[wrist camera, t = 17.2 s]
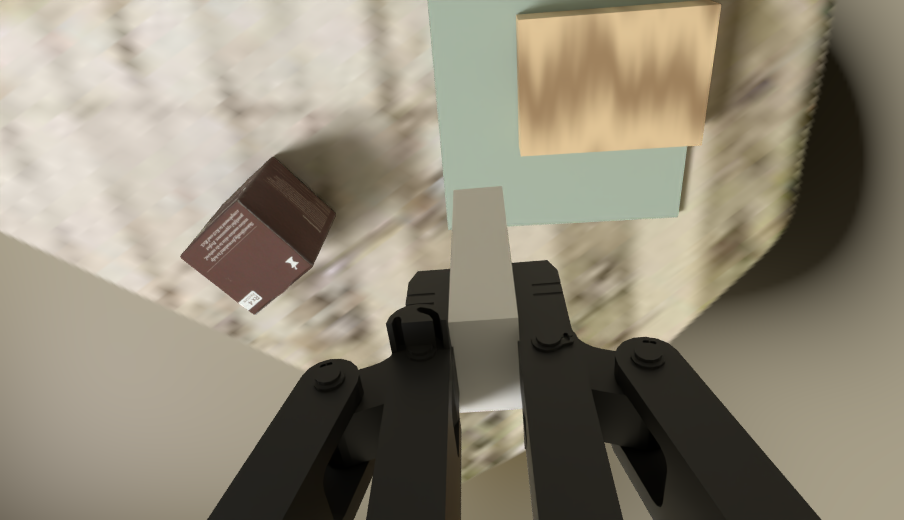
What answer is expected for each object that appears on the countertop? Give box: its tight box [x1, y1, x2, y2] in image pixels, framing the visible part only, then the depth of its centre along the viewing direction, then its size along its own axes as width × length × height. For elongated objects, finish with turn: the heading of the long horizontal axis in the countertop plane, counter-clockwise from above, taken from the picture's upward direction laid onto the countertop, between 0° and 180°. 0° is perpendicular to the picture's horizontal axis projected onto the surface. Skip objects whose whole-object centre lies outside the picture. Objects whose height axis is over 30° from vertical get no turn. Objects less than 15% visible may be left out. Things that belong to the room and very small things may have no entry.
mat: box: [428, 0, 697, 230], centre depth 37 cm, size 20×16×1 cm
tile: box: [516, 0, 721, 157], centre depth 35 cm, size 8×2×11 cm
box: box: [180, 157, 336, 315], centre depth 39 cm, size 6×6×7 cm
